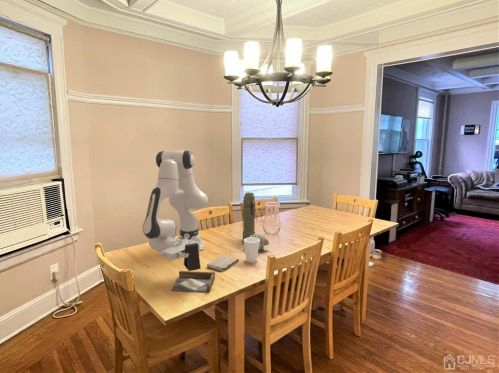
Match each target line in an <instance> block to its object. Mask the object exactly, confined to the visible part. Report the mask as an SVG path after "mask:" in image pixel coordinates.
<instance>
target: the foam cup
mask: <svg viewBox="0 0 499 373" xmlns="http://www.w3.org/2000/svg"><path fill="white" fill-rule="evenodd" d="M243 244H244V252H245V259H246V262H247V261H248V262H247V263H256V262H257V261H258V254H259V244H260V240H259V239H258V238H254V237H249V238H245V239H244V243H243ZM255 261H256V262H255Z"/></svg>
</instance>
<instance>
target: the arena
mask: <svg viewBox="0 0 499 373" xmlns="http://www.w3.org/2000/svg"><path fill="white" fill-rule="evenodd" d="M215 279H216V272H215V271H212V272H211V271H188V270H187V271H186V270H179V272H178V278H177V279H176V281H175V283H174V285H173V286H172V288H171V290H170V291H171V292H186V293H187V292H188V293H206V294H207V293H208V294H209V293H211V290H212V287H213V284H214V283H215V282H214V281H215Z"/></svg>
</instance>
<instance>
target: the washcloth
mask: <svg viewBox="0 0 499 373" xmlns="http://www.w3.org/2000/svg"><path fill="white" fill-rule="evenodd" d="M239 261H240V259H239V258H237V257H230V256H227V255H221V256H219V257H218V258H215V259H214V260H212V261H211V262H207V264H206V269H209V270H212V271H217V272H222V273H223V272H226V271H227V270H229V269H230V268H231V267H233V266H234V265H236V264H237V263H239Z"/></svg>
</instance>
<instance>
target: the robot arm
mask: <svg viewBox="0 0 499 373" xmlns="http://www.w3.org/2000/svg"><path fill="white" fill-rule="evenodd" d="M155 163H156V166H157V167H158V173H157V183H156V186H155V188H153V189H152V191H151V193H150V197H149V200H148V201H149V202H148V205H147V206H148V207H147V211H146V216H145V219H144V222H143V224H142V232H143V234H144V236H145V237H146V238H147V239H148V246H149V247H150V249H152V250H154V251H155V252H158V253H159V255H160V256H161V257H163V258H164V259H165V260H168V261H174V260H176V259H179V258H184V257H185V258H187V257H188V256H189V254H187V253H185V245H187V244H193V243H198V250H199V252H200V251H204V248H205V246H204V245H205V241H203V240H202V239H201V237H202V236H201V234H199V232H200V231H199V226H198V217H197V215H196V214H195V213H193V212H192V211H191V209H192V210H201V209H205V208H206V207H207V205H208V202H209V199H208V198H209V197H208V195H207V194H206V193H204V192H203V191H202V190H201V189H200V188H199V187H198V185H197V184H196V182H195V178H194V174H193V167H194V165H195V155H194V153H193V152H192V151H190V150H180V149H179V150H178V149H174V150H162V151H159V152H158V153H157V154H156V156H155ZM166 198H168V202H169V205H170V206H171V207H172V208H174V210H175V211H176V213H177V214H178V218H179V226H180V229H179V236H178V237H177V238H175V236H176V233H177V224H176V222H175V221H174V220H173V219H171V218H159V212H160V207H161V206H160V205H161V203H162V202H163V200H165V199H166Z"/></svg>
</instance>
